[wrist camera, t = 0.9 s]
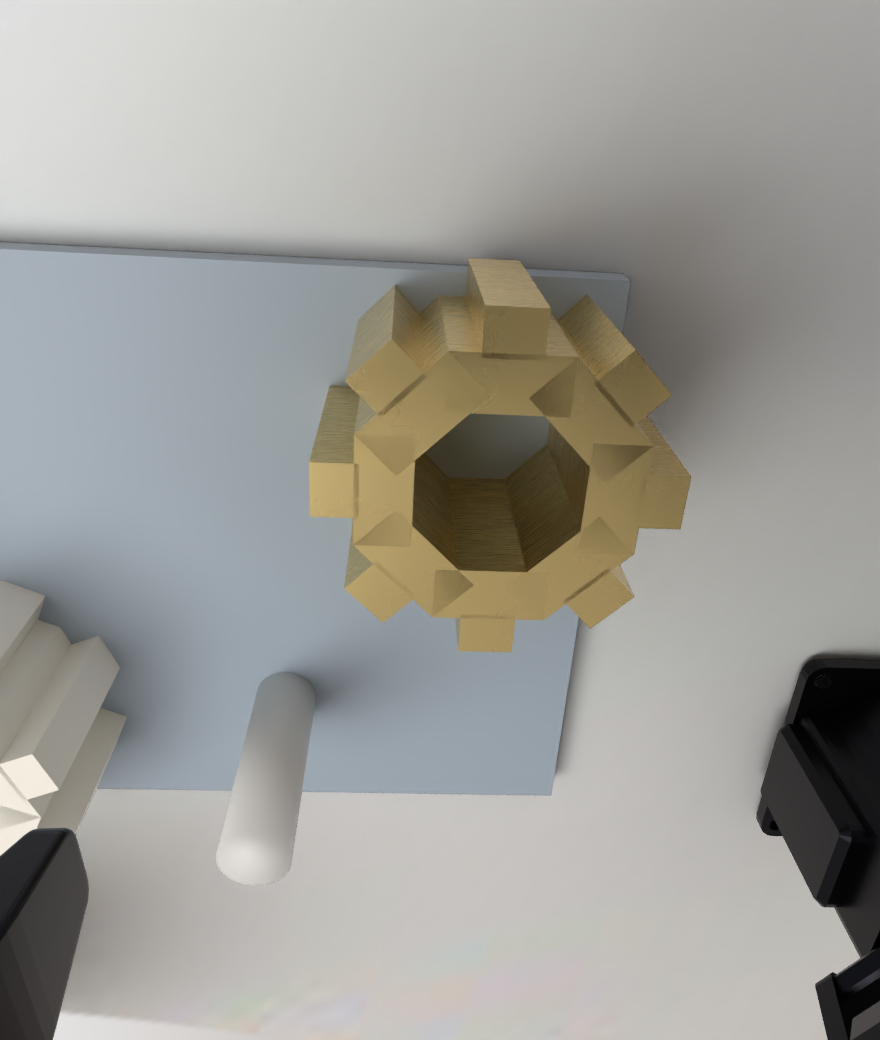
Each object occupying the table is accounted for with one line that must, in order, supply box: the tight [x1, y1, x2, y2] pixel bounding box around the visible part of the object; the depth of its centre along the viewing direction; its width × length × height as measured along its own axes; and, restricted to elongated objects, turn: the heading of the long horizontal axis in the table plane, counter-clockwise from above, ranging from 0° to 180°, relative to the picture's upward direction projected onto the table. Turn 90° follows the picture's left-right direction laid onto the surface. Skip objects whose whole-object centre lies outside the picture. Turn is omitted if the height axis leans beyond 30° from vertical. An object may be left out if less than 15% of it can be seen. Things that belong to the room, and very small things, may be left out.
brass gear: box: [309, 258, 691, 652], centre depth 18 cm, size 7×7×4 cm
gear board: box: [0, 242, 631, 886], centre depth 19 cm, size 20×15×6 cm
